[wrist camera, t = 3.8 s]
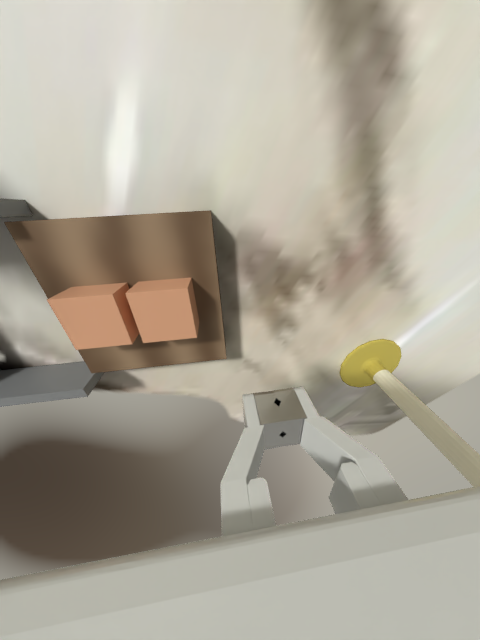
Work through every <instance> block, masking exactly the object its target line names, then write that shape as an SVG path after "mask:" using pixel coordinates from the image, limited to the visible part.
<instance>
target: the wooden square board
mask: <svg viewBox="0 0 480 640" xmlns="http://www.w3.org/2000/svg"><path fill="white" fill-rule="evenodd" d="M4 223H5V225H6V227H7V228H8V230H9V232H10V234H11V235H12V237H13V239H14V240H15V242H16V244H17V246H18V247H19V249H20V251H21V253H22V254H23V256H24V258H25V259H26V261H27V263H28V265H29V266H30V268H31V270H32V272H33V273H34V275H35V277H36V278H37V280H38V282H39V284H40V285H41V287H42V289H43V290H44V292H45V294H46V296H47V297H48V299H49V298H51V297H53V296H55V295H57V294H59V293H61V292H63V291H65V290H67V289H68V288H70V287H77V286H90V285H103V284H115V283H128V286H129V289H130V288H132V287H133V286H134V285H135V284H136V283H137V282H141V281H153V280H166V279H178V278H192V283H193V289H194V295H195V300H196V306H197V312H198V317H199V328H198V334H197V338H189V339H179V340H169V341H159V342H150V343H143V341H142V338H141V335H140V333H139V335H138V336H137V338H136V339H135V341H134V342H133V344H130V345H120V346H110V347H100V348H90V349H80V350H78V351H79V353H80V354H81V356H82V358H83V359H84V361H85V363H86V365H87V366H88V368H89V370H90V372H91V373H99V372H109V371H118V370H127V369H136V368H145V367H155V366H164V365H173V364H182V363H191V362H200V361H210V360H219V359H226V345H225V335H224V326H223V316H222V307H221V298H220V288H219V279H218V270H217V260H216V251H215V242H214V232H213V223H212V213H211V211H194V212H176V213H158V214H140V215H123V216H105V217H87V218H69V219H51V220H33V221H16V222H4Z"/></svg>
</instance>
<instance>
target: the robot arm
mask: <svg viewBox="0 0 480 640" xmlns="http://www.w3.org/2000/svg"><path fill="white" fill-rule="evenodd" d="M242 400H243V414H244V423H245V428H244V430H243V433H242V435H241V437H240V439H239V442H238V444H237V447H236V449H235V451H234V454H233V456H232V458H231V460H230V463H229V465H228V468H227V470H226V472H225V474H224V477H223V479H222V481H221V519H222V520H221V522H222V537H217V538H212V539H206V540H201V541H196V542H191V543H186V544H181V545H176V546H171V547H165V548H161V549H155V550H150V551H145V552H140V553H135V554H130V555H125V556H120V557H115V558H109V559H104V560H99V561H94V562H89V563H84V564H79V565H74V566H69V567H64V568H58V569H53V570H48V571H43V572H38V573H33V574H28V575H23V576H18V577H12V578H8V579H2V580H0V640H480V486H477V487H472V488H467V489H461V490H456V491H452V492H446V493H441V494H436V495H431V496H426V497H421V498H416V499H411V500H408V498H407V497H406V496H405V494H404V493H403V491H402V490H401V488H400V487H399V485H398V484H397V482H396V481H395V480H394V478H393V477H392V475H391V474H390V472H389V471H388V469H387V468H386V466H385V465H384V464H383V462H382V461H381V459H380V458H379V456H377V455H376V454H374V453H373V452H372V451H370V450H369V449H368V448H366V447H365V446H363V445H362V444H361V443H359V442H358V441H357V440H355V439H354V438H352V437H351V436H350V435H348V434H347V433H346V432H344V431H343V430H341V429H340V428H339V427H337V426H336V425H335V424H333V423H332V422H330V421H329V420H328V419H326V418H325V417H323V416H319V414H318V412H317V410H316V409H315V407H314V405H313V403H312V401H311V399H310V397H309V396H308V394H307V392H306V390H305V388H304V387H296V388H287V389H281V390H274V391H269V392H259V393H251V394H243V395H242ZM296 444H300V445H301V447H302V448H303V449H304V450H305V451H306V452H307V453H308V454H309V455H310V456H311V457H312V458H313V459H314V460H315V461H316V463H317V464H318V465H319V466H320V467H321V468H322V469H323V470H324V471H325V472H326V473H327V474H328V475H329V476H330V477H331V478H332V479H333V481H334V485H333V488H332V491H331V493H330V496H329V499H330V502H331V504H332V507H333V509H334V511H335V514H334V515H329V516H325V517H319V518H313V519H308V520H304V521H298V522H294V523H288V524H283V525H278V526H276V523H275V518H274V514H273V509H272V505H271V500H270V495H269V490H268V485H267V481H266V480H265V479H263V478H257V474H258V471H259V467H260V463H261V460H262V456H263V453H264V450H265V449H270V448H276V447H280V446H288V445H296Z"/></svg>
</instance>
